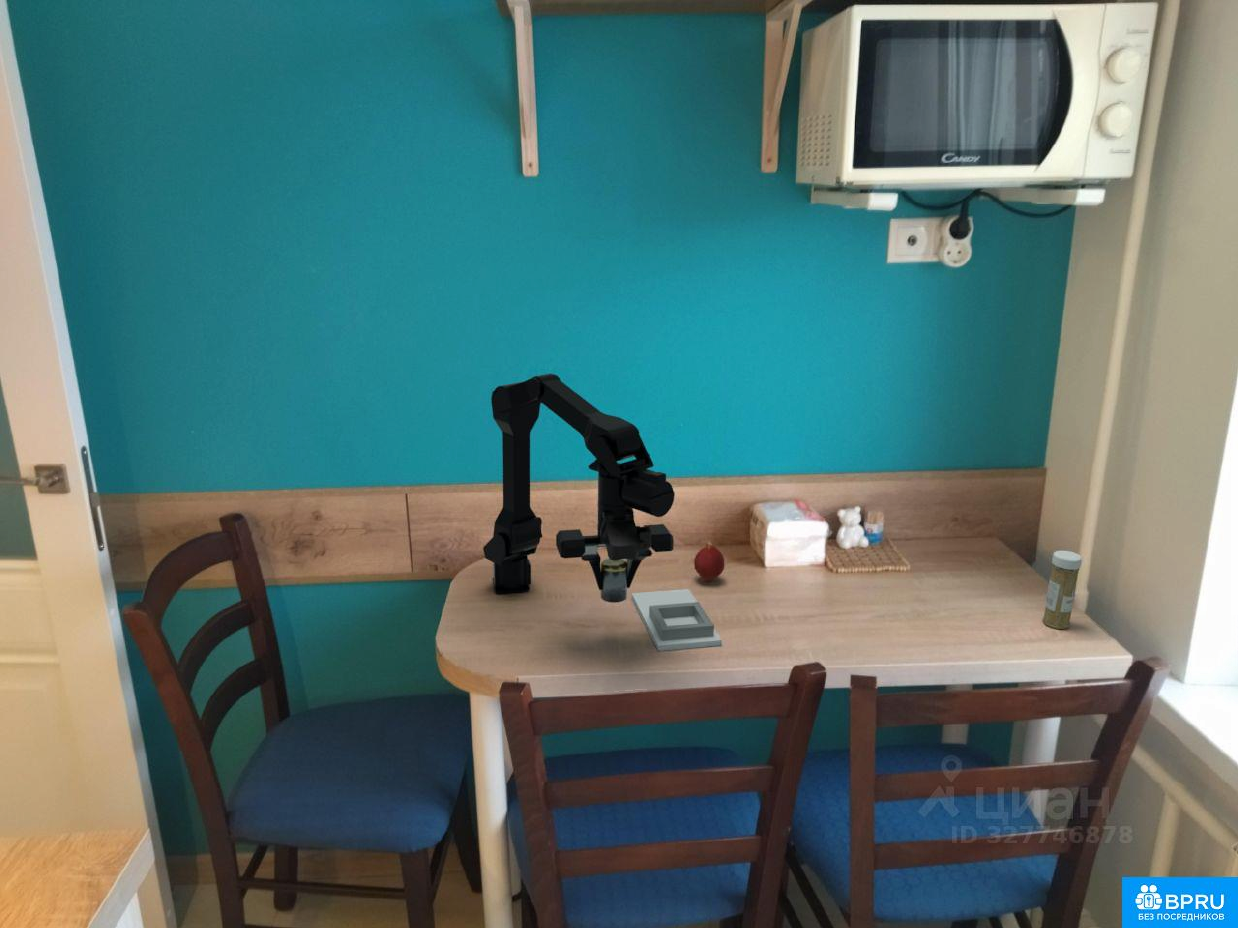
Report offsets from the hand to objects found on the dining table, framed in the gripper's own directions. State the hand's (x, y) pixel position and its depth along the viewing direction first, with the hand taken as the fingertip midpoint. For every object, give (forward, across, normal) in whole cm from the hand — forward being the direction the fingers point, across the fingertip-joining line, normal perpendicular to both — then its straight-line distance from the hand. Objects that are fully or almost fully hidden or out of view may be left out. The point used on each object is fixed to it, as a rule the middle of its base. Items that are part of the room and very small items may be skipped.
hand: (613, 588), depth 154 cm
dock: (+9, +12, +4) cm, 16 cm away
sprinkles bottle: (+10, +79, -9) cm, 80 cm away
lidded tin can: (+2, 0, 0) cm, 2 cm away
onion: (+9, +23, +19) cm, 31 cm away
